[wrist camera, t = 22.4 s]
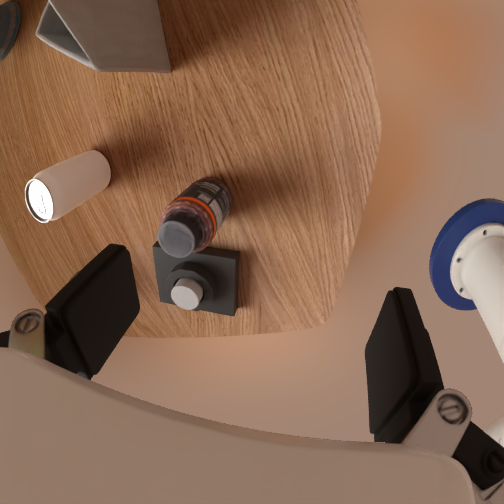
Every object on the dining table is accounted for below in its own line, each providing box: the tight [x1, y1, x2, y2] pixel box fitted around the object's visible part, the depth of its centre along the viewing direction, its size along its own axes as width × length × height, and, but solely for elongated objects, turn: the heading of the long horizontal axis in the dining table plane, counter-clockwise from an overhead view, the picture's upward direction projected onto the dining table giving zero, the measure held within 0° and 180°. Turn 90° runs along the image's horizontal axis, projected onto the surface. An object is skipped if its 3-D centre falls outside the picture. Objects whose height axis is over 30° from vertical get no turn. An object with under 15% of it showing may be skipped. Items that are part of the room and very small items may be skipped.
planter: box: [36, 0, 171, 73], centre depth 19 cm, size 16×8×19 cm, turn 11°
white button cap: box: [171, 277, 203, 310], centre depth 40 cm, size 4×4×2 cm
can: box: [25, 150, 111, 223], centre depth 33 cm, size 6×6×12 cm
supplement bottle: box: [157, 178, 232, 258], centre depth 33 cm, size 6×6×11 cm
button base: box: [153, 241, 239, 316], centre depth 42 cm, size 12×10×4 cm
